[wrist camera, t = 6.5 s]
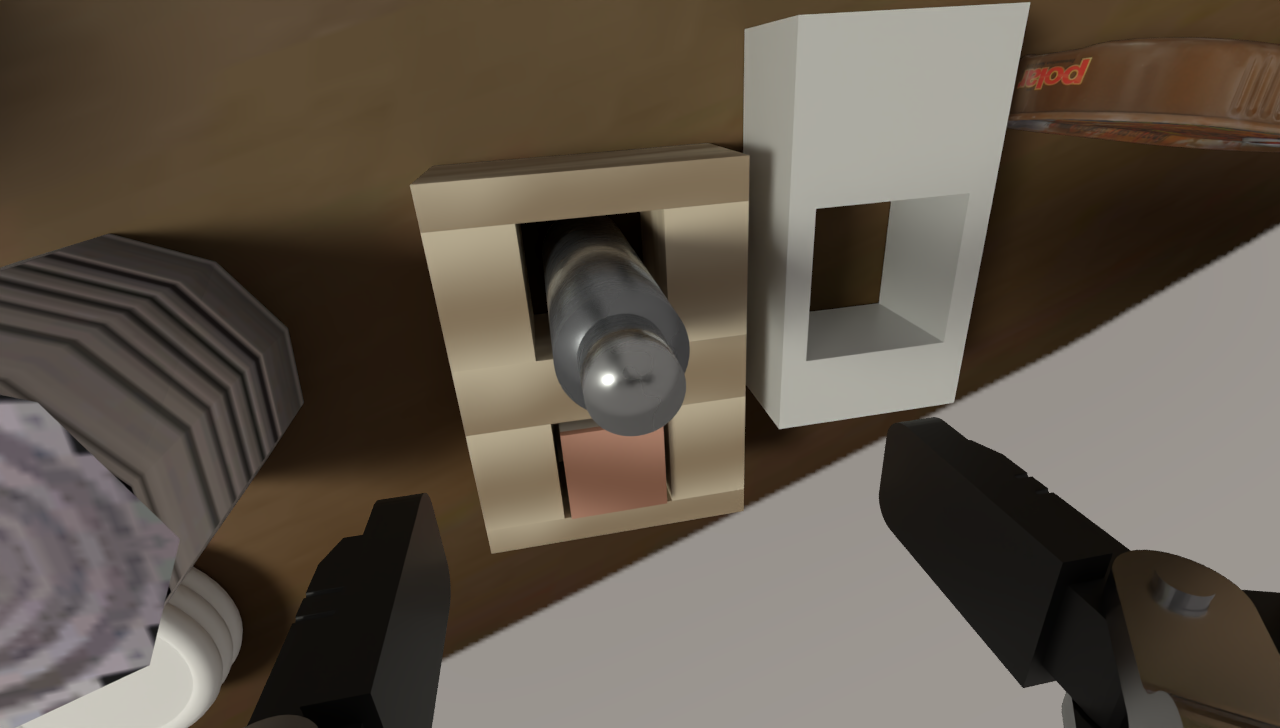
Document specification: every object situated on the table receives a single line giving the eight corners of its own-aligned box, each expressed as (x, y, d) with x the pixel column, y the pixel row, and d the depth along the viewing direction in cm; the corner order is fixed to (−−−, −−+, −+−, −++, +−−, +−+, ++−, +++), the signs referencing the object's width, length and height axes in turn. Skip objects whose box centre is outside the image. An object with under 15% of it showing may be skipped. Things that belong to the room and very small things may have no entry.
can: (-25, 187, 21) (-614, 294, 10) (327, 282, 24) (169, 438, 13) (-15, 457, 25) (-433, 742, 14) (287, 506, 28) (139, 766, 17)
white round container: (286, 649, 32) (260, 710, 29) (105, 714, 31) (59, 784, 28) (165, 512, 27) (119, 567, 24) (-48, 586, 27) (-123, 652, 24)
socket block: (432, 166, 23) (409, 184, 18) (708, 143, 24) (749, 155, 20) (496, 482, 29) (491, 553, 25) (711, 449, 31) (743, 510, 26)
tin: (952, 122, 26) (1127, 137, 18) (975, 41, 25) (1174, 20, 17) (1222, 152, 29) (1468, 175, 21) (1256, 81, 28) (1530, 79, 20)
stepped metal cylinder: (536, 214, 24) (547, 329, 13) (623, 205, 25) (710, 309, 13) (547, 297, 26) (566, 468, 14) (629, 288, 26) (711, 445, 15)
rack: (744, 29, 23) (798, 15, 18) (935, 18, 24) (1030, 2, 19) (740, 377, 29) (779, 429, 25) (890, 356, 30) (953, 402, 26)
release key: (554, 383, 27) (560, 436, 23) (642, 371, 27) (663, 421, 23) (564, 457, 28) (571, 519, 24) (647, 445, 29) (667, 503, 25)
